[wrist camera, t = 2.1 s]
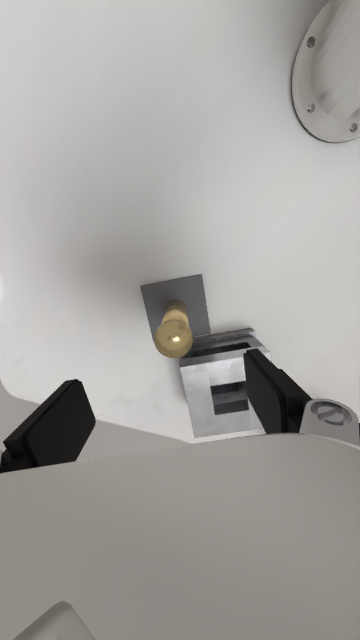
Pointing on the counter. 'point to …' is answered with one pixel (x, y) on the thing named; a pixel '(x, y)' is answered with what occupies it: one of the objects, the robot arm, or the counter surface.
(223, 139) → the counter surface
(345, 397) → the counter surface
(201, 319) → the mat
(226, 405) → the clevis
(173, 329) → the pin
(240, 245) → the counter surface
